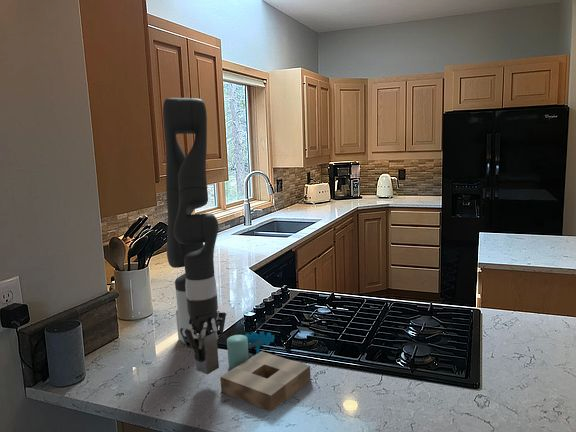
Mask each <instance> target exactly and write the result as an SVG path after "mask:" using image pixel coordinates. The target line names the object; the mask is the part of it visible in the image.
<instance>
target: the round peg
mask: <svg viewBox="0 0 576 432" xmlns="http://www.w3.org/2000/svg"><path fill="white" fill-rule="evenodd" d="M226 348H227V361H228V362H227V363H228V369H229V371H231V370H232V369H234V368H235V367H237V366H239V365H240V364H242V363H243V362H245V361H247V360H248V359H250V356H249V348H248V340H247V337H246V336H245V334H234V335H231V336H229V337H228V338H227V339H226Z"/></svg>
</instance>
